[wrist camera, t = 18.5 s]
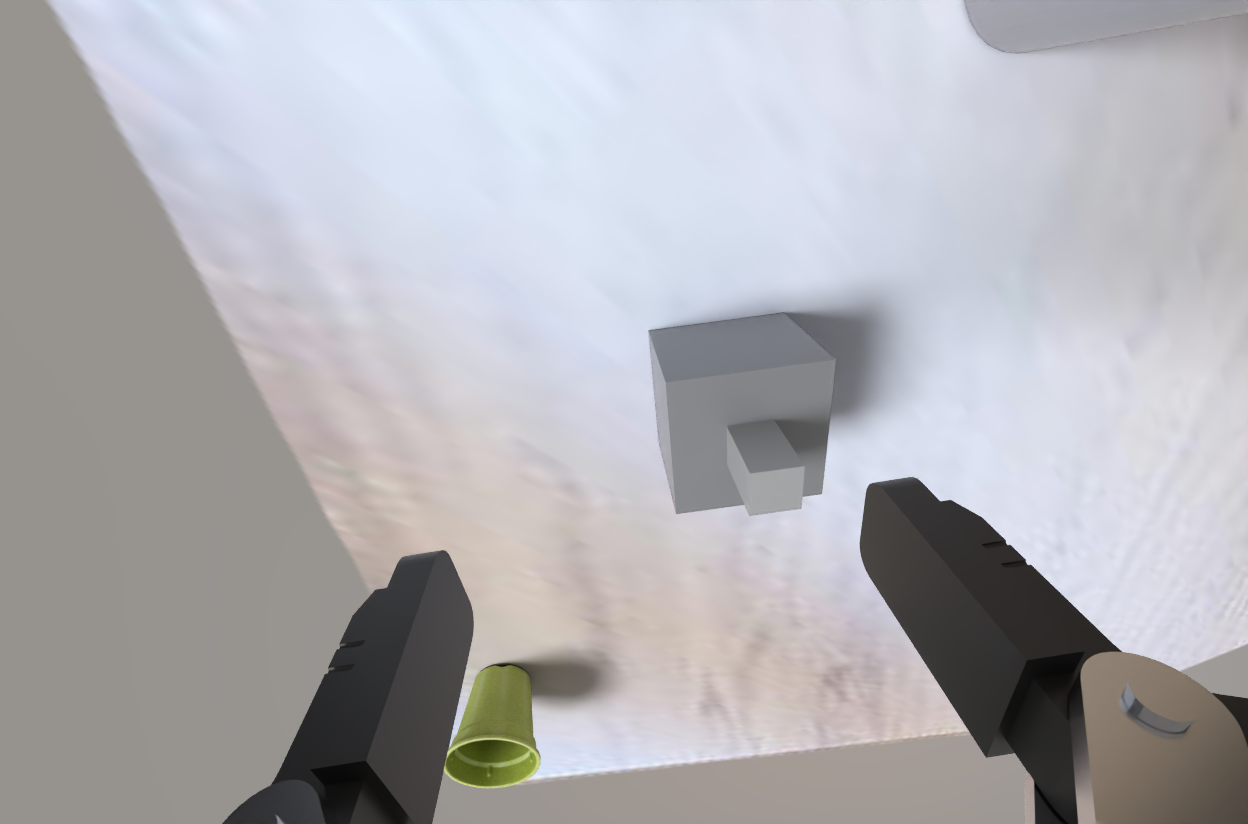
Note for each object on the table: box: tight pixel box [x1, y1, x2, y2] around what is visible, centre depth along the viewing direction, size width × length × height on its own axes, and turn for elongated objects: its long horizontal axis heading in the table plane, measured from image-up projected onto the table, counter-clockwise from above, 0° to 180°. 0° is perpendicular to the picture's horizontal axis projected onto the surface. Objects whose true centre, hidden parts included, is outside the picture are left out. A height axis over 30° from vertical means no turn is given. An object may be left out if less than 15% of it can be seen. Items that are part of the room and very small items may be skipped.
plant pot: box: [444, 665, 540, 788], centre depth 52 cm, size 9×9×9 cm
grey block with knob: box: [648, 313, 836, 516], centre depth 34 cm, size 10×10×14 cm
